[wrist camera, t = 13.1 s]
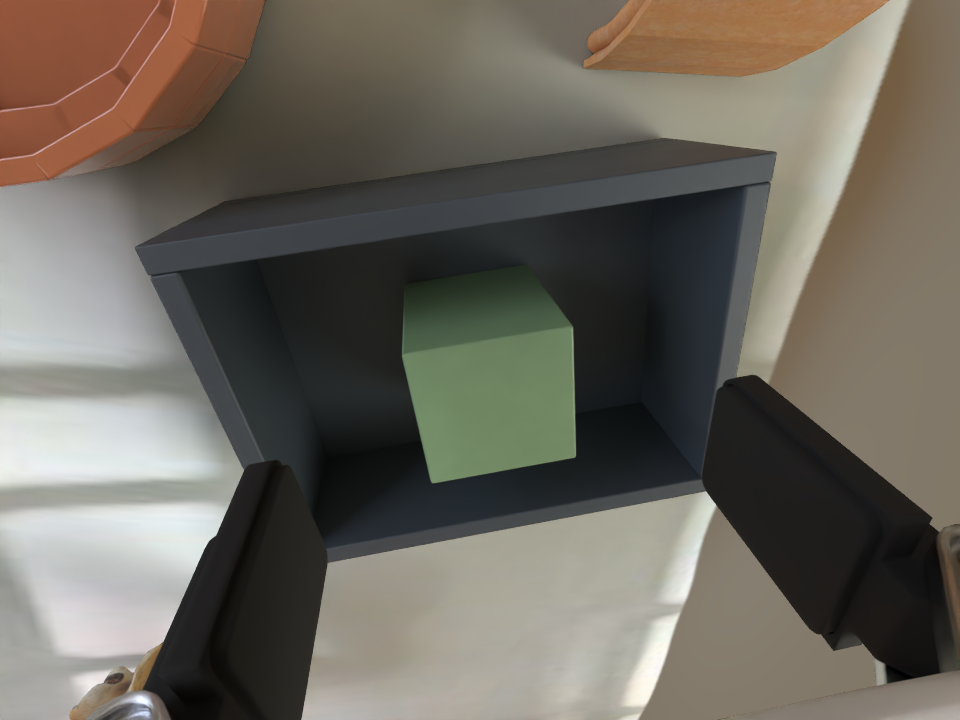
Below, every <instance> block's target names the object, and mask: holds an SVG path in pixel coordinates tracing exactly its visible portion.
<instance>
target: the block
mask: <svg viewBox="0 0 960 720" xmlns="http://www.w3.org/2000/svg"><path fill="white" fill-rule="evenodd" d="M402 359H403V363H404V367H405V372H406V376H407V380H408V385H409V389H410V394H411V398H412V402H413V407H414V411H415V415H416V420H417V424H418V428H419V433H420V437H421V441H422V446H423V450H424V454H425V459H426V463H427V467H428V472H429V476H430V480H431V482H432V483H438V482H444V481H449V480H455V479H460V478H466V477H471V476H477V475H482V474H488V473H493V472H499V471H504V470H510V469H515V468H521V467H526V466H532V465H537V464H543V463H548V462H554V461H559V460H564V459H570V458H575V457H576V428H575V383H574V337H573V326H572V324H571V323H570V322H569V320H568V319H567V318H566V316H565V315H564V314H563V312H562V311H561V310H560V308H559V307H558V305H557V304H556V303H555V301H554V300H553V299H552V297H551V296H550V295H549V293H548V292H547V290H546V289H545V288H544V286H543V285H542V284H541V282H540V281H539V280H538V278H537V277H536V275H535V274H534V273H533V271H532V270H531V269H530V267H529V266H528V265H520V266H514V267H508V268H501V269H495V270H488V271H482V272H476V273H469V274H463V275H457V276H450V277H444V278H438V279H431V280H425V281H419V282H412V283H406V284H405V286H404V312H403V339H402Z"/></svg>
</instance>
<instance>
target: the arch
mask: <svg viewBox="0 0 960 720" xmlns="http://www.w3.org/2000/svg"><path fill="white" fill-rule="evenodd" d="M888 1H889V0H629V1H628V2H627V4H626V5H625V6H624V7H623V8H622V9H621V10H620V12H619V13H618V14H617V15H616V16H615V17H614V18H613V20H612V21H611V22H609V23H608V24H606V25H604V26H603V27H601V28H600V29H598V30H596V31H595V32H593V33H592V34H591V35H590V36H589V38H588V42H587V45H588V48H589V50H590V51H591V52H593V53H594V54H593V55H592V56H590V57H589V58H587V59H586V60H584V63H583V68H587V69H606V70H625V71H644V72H664V73H683V74H702V75H721V76H746V75H751V74H756V73H761V72H766V71H771V70H776V69H778V68H780V67H782V66H785V65H787V64H789V63H791V62H793V61H795V60H797V59H799V58H801V57H803V56H805V55H807V54H809V53H811V52H814V51H816V50H818V49H820V48H822V47H824V46H825V45H826V44H828V43H829V42H831V41H832V40H834V39H835V38H837V37H838V36H840V35H841V34H842V33H844V32H845V31H847V30H848V29H850V28H851V27H853V26H854V25H856V24H857V23H858V22H860V21H861V20H863V19H864V18H866V17H867V16H869V15H870V14H871V13H873V12H874V11H876V10H877V9H879V8H880V7H882V6H883V5H885V4H886V3H887V2H888Z"/></svg>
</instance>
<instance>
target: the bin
mask: <svg viewBox="0 0 960 720" xmlns="http://www.w3.org/2000/svg"><path fill="white" fill-rule="evenodd" d="M776 155H777V153H776V152H773V151H765V150H757V149H749V148H741V147H733V146H725V145H717V144H709V143H701V142H693V141H685V140H677V139H675V140H674V139H668V138H661V139H654V140H647V141H640V142H634V143H627V144H620V145H613V146H606V147H599V148H592V149H585V150H578V151H571V152H564V153H557V154H550V155H544V156H537V157H530V158H523V159H516V160H509V161H502V162H495V163H488V164H481V165H474V166H467V167H460V168H454V169H447V170H440V171H433V172H426V173H419V174H412V175H405V176H398V177H391V178H384V179H377V180H370V181H363V182H357V183H350V184H343V185H336V186H329V187H322V188H315V189H308V190H301V191H294V192H287V193H280V194H273V195H267V196H260V197H253V198H246V199H239V200H232V201H225V202H223V203H221V204H219V205H217V206H214V207H212V208H210V209H209V210H207V211H205V212H203V213H201V214H199V215H197V216H195V217H193V218H191V219H189V220H187V221H185V222H183V223H181V224H179V225H177V226H175V227H173V228H171V229H169V230H167V231H165V232H163V233H161V234H159V235H158V236H156V237H154V238H152V239H150V240H148V241H146V242H144V243H142V244H140V245H138V246H136V247H135V250H136V252H137V254H138V256H139V258H140V260H141V262H142V264H143V266H144V268H145V270H146V272H147V274H148V275H152V276H151V281H152V283H153V285H154V287H155V289H156V291H157V293H158V295H159V297H160V299H161V301H162V303H163V305H164V307H165V309H166V312H167V314H168V316H169V318H170V320H171V322H172V324H173V326H174V328H175V330H176V332H177V334H178V336H179V338H180V340H181V342H182V344H183V346H184V348H185V350H186V352H187V354H188V357H189V359H190V361H191V363H192V365H193V367H194V369H195V371H196V373H197V375H198V377H199V379H200V381H201V383H202V385H203V387H204V389H205V391H206V393H207V395H208V397H209V399H210V402H211V404H212V406H213V408H214V410H215V412H216V414H217V416H218V418H219V420H220V422H221V424H222V426H223V428H224V430H225V432H226V434H227V436H228V438H229V440H230V442H231V444H232V447H233V449H234V451H235V453H236V455H237V457H238V459H239V461H240V463H241V465H242V467H243V469H244V470H245V468H246V467H247V466H248V465H249V464H254V463H260V462H265V461H271V460H279V461H280V462H281V463H282V465H289V466H290V467H291V468H292V470H293V473H294V475H295V477H296V480H297V482H298V484H299V486H300V489H301V491H302V493H303V496H304V498H305V500H306V502H307V505H308V507H309V509H310V512H311V514H312V516H313V518H314V521H315V523H316V525H317V528H318V530H319V532H320V534H321V537H322V539H323V541H324V544H325V546H326V549H327V556H328V563H329V562H334V561H340V560H345V559H350V558H356V557H361V556H366V555H371V554H377V553H382V552H387V551H393V550H398V549H403V548H408V547H414V546H419V545H424V544H430V543H435V542H440V541H445V540H451V539H456V538H461V537H467V536H472V535H477V534H483V533H488V532H493V531H498V530H504V529H509V528H514V527H520V526H525V525H530V524H535V523H541V522H546V521H551V520H557V519H562V518H567V517H572V516H578V515H583V514H588V513H594V512H599V511H604V510H609V509H615V508H620V507H625V506H631V505H636V504H641V503H646V502H652V501H657V500H662V499H668V498H673V497H678V496H683V495H689V494H694V493H699V492H705V491H706V490H705V488H704V486H703V482H702V471H703V465H704V459H705V454H706V448H707V443H708V437H709V431H710V426H711V420H712V414H713V409H714V403H715V397H716V393H717V390H718V389H719V388H720V387H722V386H723V383H724V382H725V381H726V380H728V379H732V378H736V375H737V369H738V364H739V358H740V353H741V347H742V341H743V336H744V330H745V325H746V319H747V314H748V308H749V302H750V297H751V291H752V286H753V280H754V274H755V269H756V263H757V258H758V252H759V247H760V241H761V235H762V230H763V224H764V219H765V213H766V207H767V202H768V196H769V191H770V185H771V184H770V181H771V180H772V177H773V171H774V166H775V160H776ZM520 265H528V266H529V267H530V269H531V270H532V271H533V273H534V274H535V275H536V277H537V278H538V280H539V281H540V282H541V284H542V285H543V286H544V288H545V289H546V290H547V292H548V293H549V295H550V296H551V297H552V299H553V300H554V301H555V303H556V304H557V305H558V307H559V308H560V310H561V311H562V312H563V314H564V315H565V316H566V318H567V319H568V320H569V322H570V323H571V324H572V326H573V337H574V383H575V428H576V457H575V458H570V459H564V460H559V461H554V462H548V463H543V464H537V465H532V466H526V467H521V468H515V469H510V470H504V471H499V472H493V473H488V474H482V475H477V476H471V477H466V478H460V479H455V480H449V481H444V482H438V483H432V482H431V480H430V476H429V472H428V467H427V463H426V459H425V454H424V450H423V446H422V441H421V437H420V433H419V428H418V424H417V420H416V415H415V411H414V407H413V402H412V398H411V394H410V389H409V385H408V380H407V376H406V372H405V367H404V363H403V359H402V339H403V312H404V286H405V284H406V283H412V282H419V281H425V280H431V279H438V278H444V277H450V276H457V275H463V274H469V273H476V272H482V271H488V270H495V269H501V268H508V267H514V266H520Z"/></svg>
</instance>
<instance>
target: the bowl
mask: <svg viewBox="0 0 960 720" xmlns="http://www.w3.org/2000/svg"><path fill="white" fill-rule="evenodd" d="M264 3H265V0H0V187H6V186H13V185H21V184H28V183H35V182H42V181H49V180H54V179H59V178H63V177H68V176H73V175H78V174H83V173H88V172H92V171H98V170H102V169H107V168H112V167H117V166H122V165H127V164H129V163H133V162H135V161H137V160H138V159H140V158H142V157H144V156H145V155H147V154H149V153H151V152H153V151H154V150H156V149H158V148H160V147H161V146H163V145H165V144H167V143H169V142H170V141H172V140H174V139H176V138H177V137H179V136H181V135H183V134H184V133H186V132H188V131H190V130H192V129H193V128H195V127H196V126H197V125H198V124H200V123H201V121H202V120H203V119H204V117H205V116H206V115H207V114H208V112H209V111H210V110H211V108H212V107H213V106H214V104H215V103H216V102H217V100H218V99H219V98H220V96H221V95H222V94H223V92H224V91H225V90H226V89H227V87H228V86H229V85H230V83H231V82H232V81H233V79H234V78H235V77H236V75H237V74H238V73H239V71H240V70H241V69H242V67H243V66H244V65H245V64H246V59H248V58H249V54H250V51H251V48H252V44H253V41H254V37H255V34H256V30H257V27H258V24H259V20H260V17H261V13H262V10H263V7H264Z"/></svg>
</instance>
